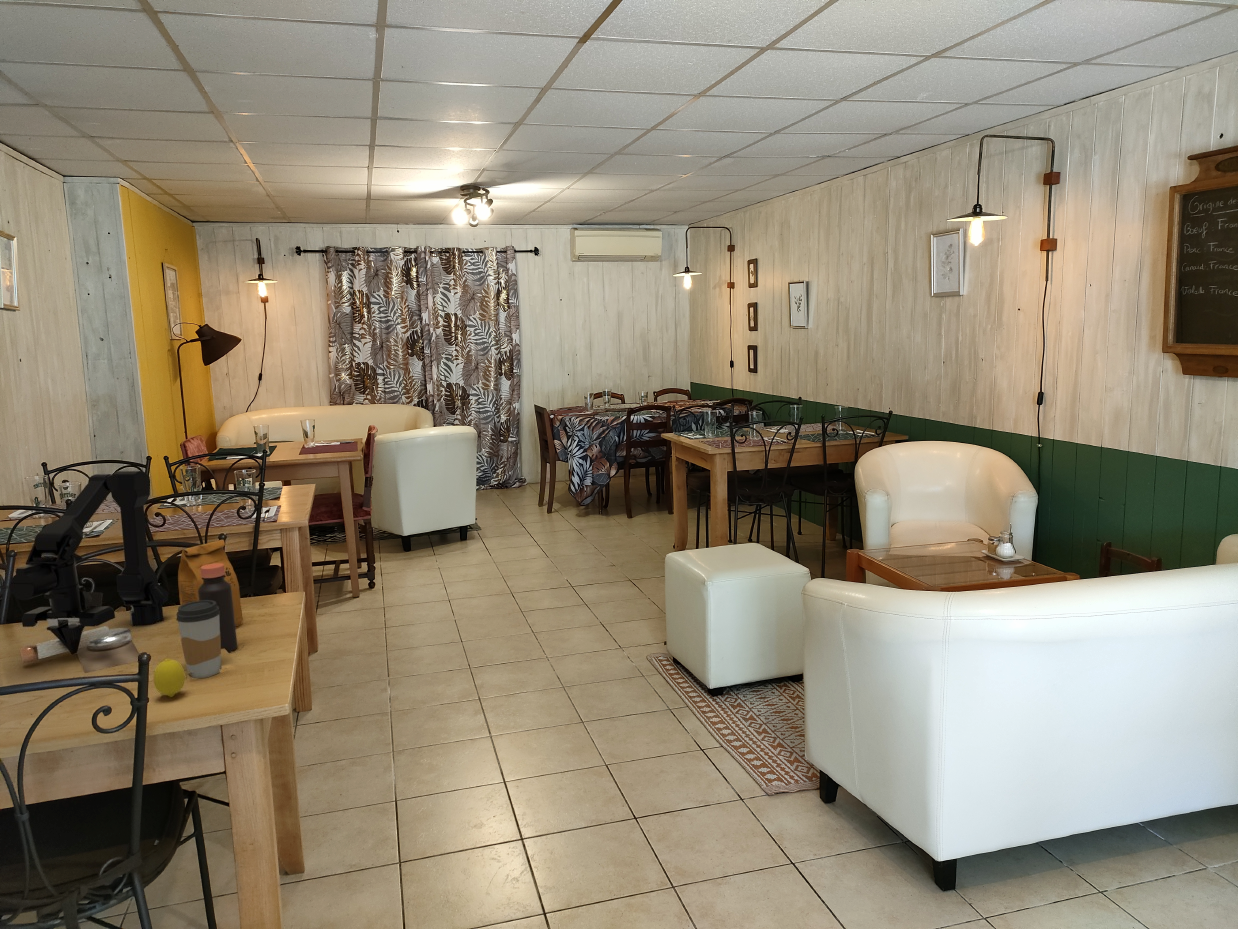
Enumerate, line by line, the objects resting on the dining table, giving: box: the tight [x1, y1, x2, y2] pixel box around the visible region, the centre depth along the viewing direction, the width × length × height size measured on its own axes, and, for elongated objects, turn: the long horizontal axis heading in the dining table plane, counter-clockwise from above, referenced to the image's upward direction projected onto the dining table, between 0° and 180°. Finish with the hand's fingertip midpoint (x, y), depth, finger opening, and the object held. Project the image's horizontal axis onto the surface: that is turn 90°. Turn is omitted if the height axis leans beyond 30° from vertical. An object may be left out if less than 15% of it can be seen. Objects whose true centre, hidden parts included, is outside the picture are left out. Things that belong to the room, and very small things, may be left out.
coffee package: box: [177, 539, 244, 628], centre depth 206 cm, size 10×12×22 cm
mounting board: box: [76, 639, 141, 674], centre depth 192 cm, size 11×25×2 cm, turn 38°
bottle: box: [198, 563, 238, 654], centre depth 193 cm, size 7×7×20 cm
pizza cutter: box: [20, 625, 132, 664], centre depth 191 cm, size 9×22×4 cm, turn 141°
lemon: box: [153, 658, 186, 698], centre depth 169 cm, size 6×6×8 cm
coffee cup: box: [175, 600, 222, 679], centre depth 180 cm, size 8×8×15 cm
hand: (74, 653), depth 188 cm, fingers closed
